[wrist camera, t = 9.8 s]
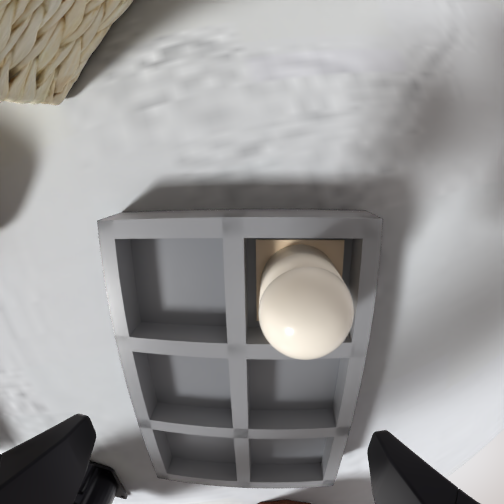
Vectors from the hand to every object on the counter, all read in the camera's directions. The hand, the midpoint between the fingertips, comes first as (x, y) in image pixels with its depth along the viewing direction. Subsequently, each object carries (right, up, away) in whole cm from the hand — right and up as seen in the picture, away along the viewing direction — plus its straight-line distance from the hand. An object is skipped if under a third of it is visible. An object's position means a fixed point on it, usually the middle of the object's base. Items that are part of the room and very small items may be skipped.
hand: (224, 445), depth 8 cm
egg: (+3, +4, +9) cm, 11 cm away
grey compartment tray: (0, -2, +13) cm, 13 cm away
